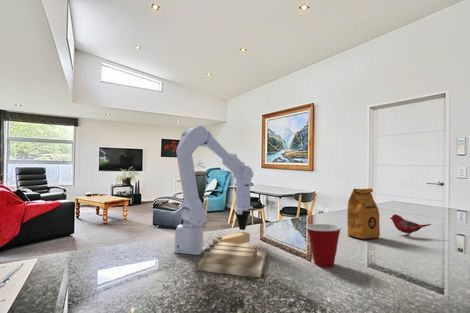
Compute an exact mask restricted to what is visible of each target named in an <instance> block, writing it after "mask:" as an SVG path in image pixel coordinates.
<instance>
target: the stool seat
mask: <svg viewBox="0 0 470 313" xmlns="http://www.w3.org/2000/svg"><path fill="white" fill-rule="evenodd" d="M203 252H204V253H203V254H204V255H203V258H201V259H200V261H198V263H197V271H201V272H209V273H219V274H225V275H226V274H227V275H236V276H244V277H252V278H253V277H254V278H261V277H262V274H263V269H264V266H265V262H266V260H267V255H268V248H261V247H258V244H248V243H242V244H238V243H227V242H218V241H213V240H212V244H209V247H207V248H206V249H205V250H204V251H203Z"/></svg>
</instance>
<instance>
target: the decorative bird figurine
mask: <svg viewBox="0 0 470 313" xmlns="http://www.w3.org/2000/svg"><path fill="white" fill-rule="evenodd" d="M389 219H390V220H391V221H392V223H393V225H394V227H395V228H396V229H397V230H398V231H399V232H402V233H405V234H400V236H402V237H409V236H410V237H412V235H411V234H413V233H416V232H418V231H419V230H420V229H422V228H426V227H428V226H432V224H431V223H426V224H419V223H417V222H414V221H410V220H408V219H405V218H403V217H402V216H401V215H399V214H397V213H396V214H392V216H391V217H390V218H389Z"/></svg>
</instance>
